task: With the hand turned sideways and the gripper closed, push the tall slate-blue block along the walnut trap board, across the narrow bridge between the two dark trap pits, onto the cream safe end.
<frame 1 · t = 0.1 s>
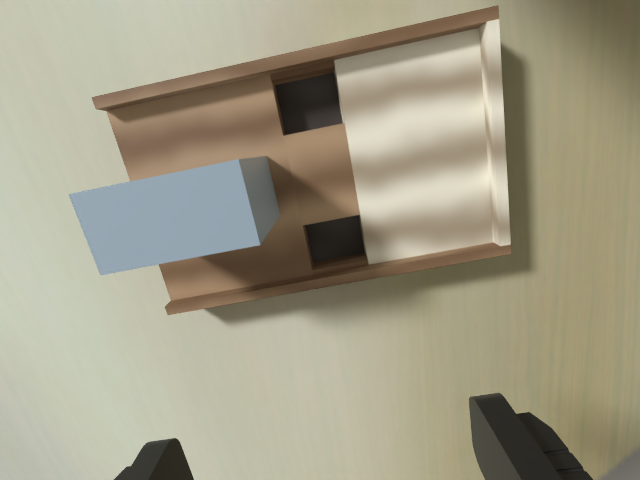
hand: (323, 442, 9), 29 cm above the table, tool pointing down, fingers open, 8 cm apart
block: (215, 197, 34), point 3 cm above the table, touching trap board
trap board: (313, 175, 36), on the table
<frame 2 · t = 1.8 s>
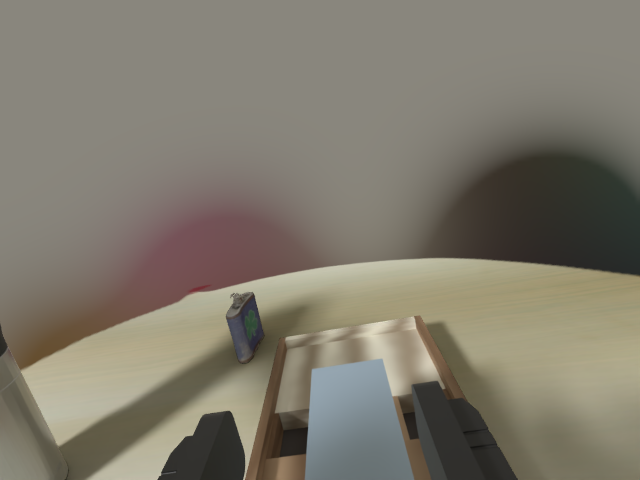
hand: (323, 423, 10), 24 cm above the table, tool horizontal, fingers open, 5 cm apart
flask: (252, 348, 60), on the table
trap board: (366, 451, 36), on the table
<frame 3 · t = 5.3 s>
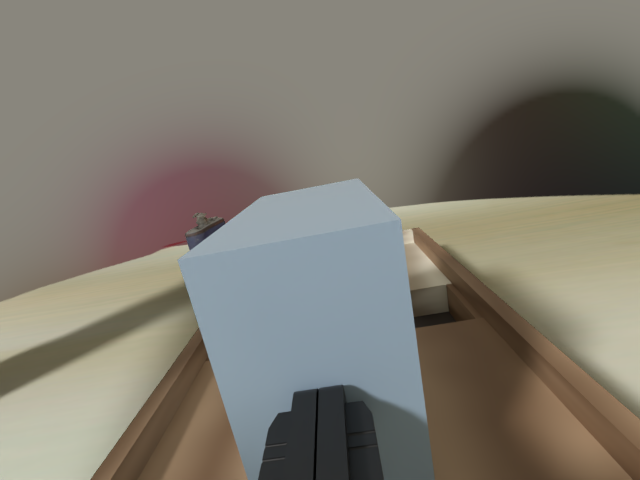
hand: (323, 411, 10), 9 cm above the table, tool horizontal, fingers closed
block: (345, 409, 17), point 3 cm above the table
flask: (220, 282, 51), on the table
trap board: (345, 359, 26), on the table
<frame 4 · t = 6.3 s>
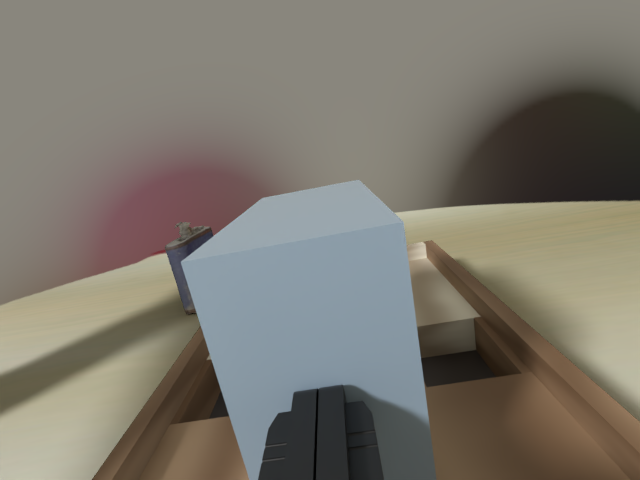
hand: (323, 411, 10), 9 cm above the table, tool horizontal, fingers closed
block: (346, 411, 17), point 3 cm above the table
flask: (207, 299, 45), on the table
trap board: (350, 415, 21), on the table
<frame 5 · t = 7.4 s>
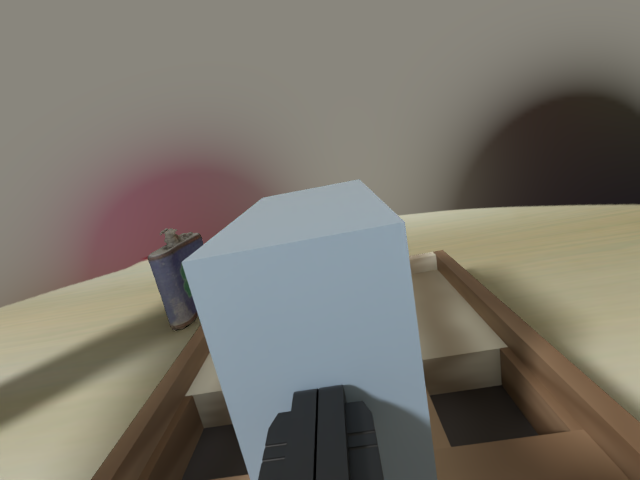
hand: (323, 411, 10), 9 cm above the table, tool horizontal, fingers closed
block: (346, 410, 17), point 3 cm above the table, touching gripper, trap board
flask: (196, 312, 42), on the table
trap board: (354, 471, 17), on the table
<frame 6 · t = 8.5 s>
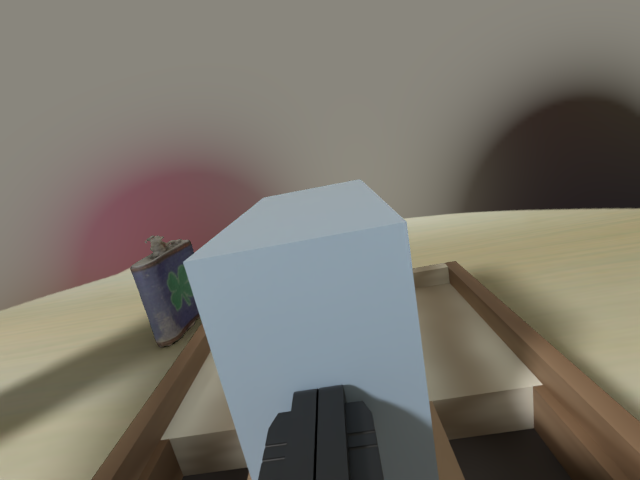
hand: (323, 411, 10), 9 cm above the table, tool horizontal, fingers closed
block: (347, 410, 17), point 3 cm above the table, touching gripper, trap board
flask: (185, 325, 39), on the table
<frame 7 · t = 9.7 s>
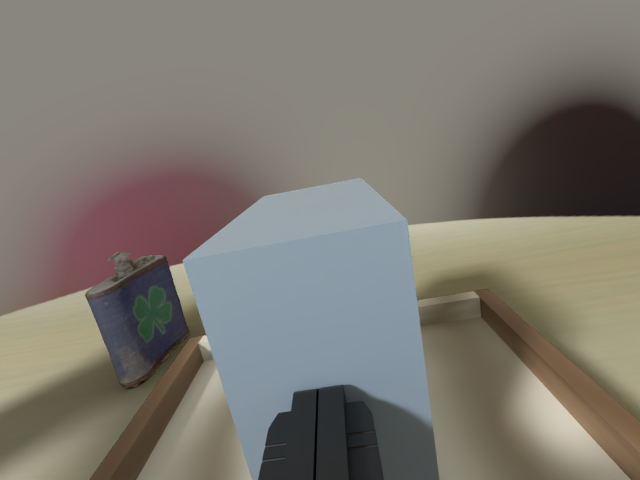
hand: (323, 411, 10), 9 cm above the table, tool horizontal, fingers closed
block: (347, 409, 17), point 3 cm above the table, touching gripper
flask: (159, 357, 33), on the table
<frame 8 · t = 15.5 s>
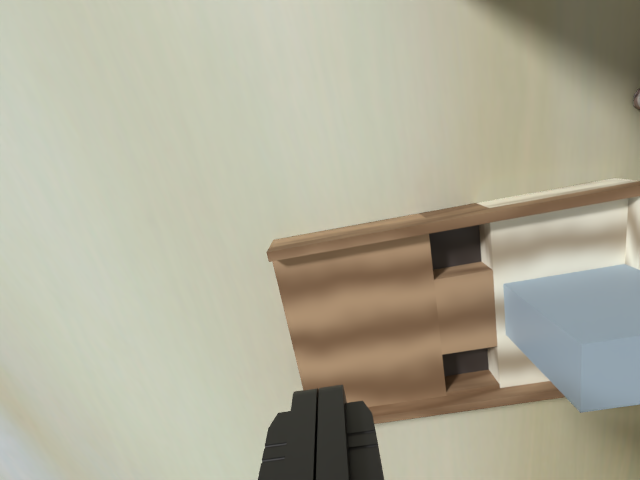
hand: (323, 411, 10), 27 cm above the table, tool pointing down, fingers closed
block: (563, 300, 35), point 3 cm above the table, touching trap board
trap board: (447, 302, 38), on the table
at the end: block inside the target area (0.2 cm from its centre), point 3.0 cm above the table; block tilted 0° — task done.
